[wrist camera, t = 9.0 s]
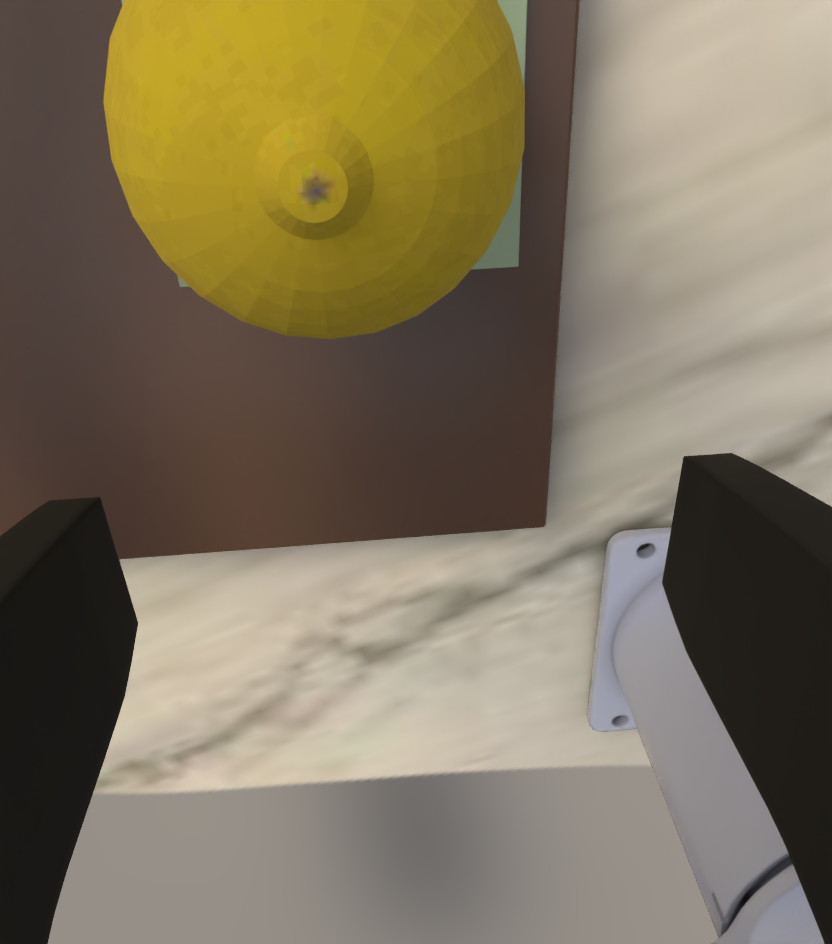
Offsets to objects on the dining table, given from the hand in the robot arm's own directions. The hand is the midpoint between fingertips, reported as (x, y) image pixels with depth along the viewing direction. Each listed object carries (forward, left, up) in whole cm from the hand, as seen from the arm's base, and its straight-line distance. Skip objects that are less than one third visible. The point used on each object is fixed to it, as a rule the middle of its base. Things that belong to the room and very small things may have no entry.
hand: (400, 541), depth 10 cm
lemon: (+1, -4, -8) cm, 9 cm away
